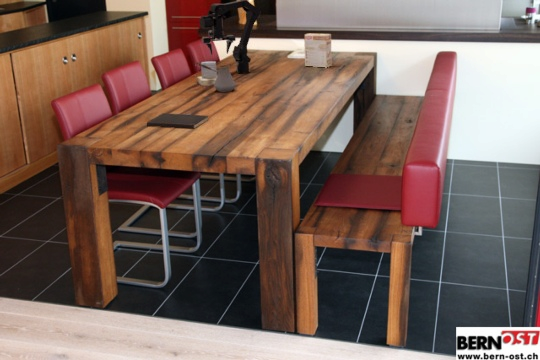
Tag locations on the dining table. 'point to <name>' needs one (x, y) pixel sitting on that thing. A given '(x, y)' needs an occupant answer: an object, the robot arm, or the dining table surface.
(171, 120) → the hardcover book
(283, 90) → the dining table surface
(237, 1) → the robot arm
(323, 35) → the coffeecake box
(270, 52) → the dining table surface
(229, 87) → the coffee pot
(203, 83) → the cream shallow bowl
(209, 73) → the medicine box
